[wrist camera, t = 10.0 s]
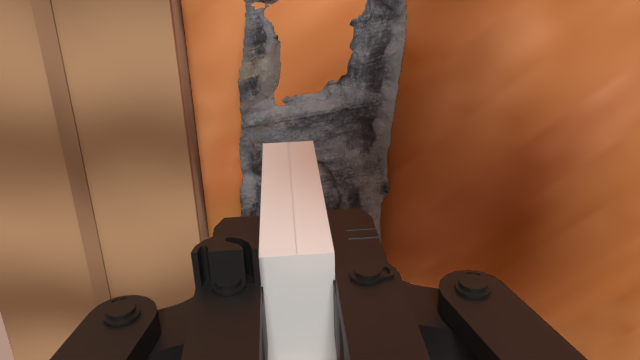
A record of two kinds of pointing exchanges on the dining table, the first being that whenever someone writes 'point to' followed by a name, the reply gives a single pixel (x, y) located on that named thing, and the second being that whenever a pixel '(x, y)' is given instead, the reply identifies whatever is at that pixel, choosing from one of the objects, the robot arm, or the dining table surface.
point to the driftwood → (326, 110)
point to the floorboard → (93, 163)
